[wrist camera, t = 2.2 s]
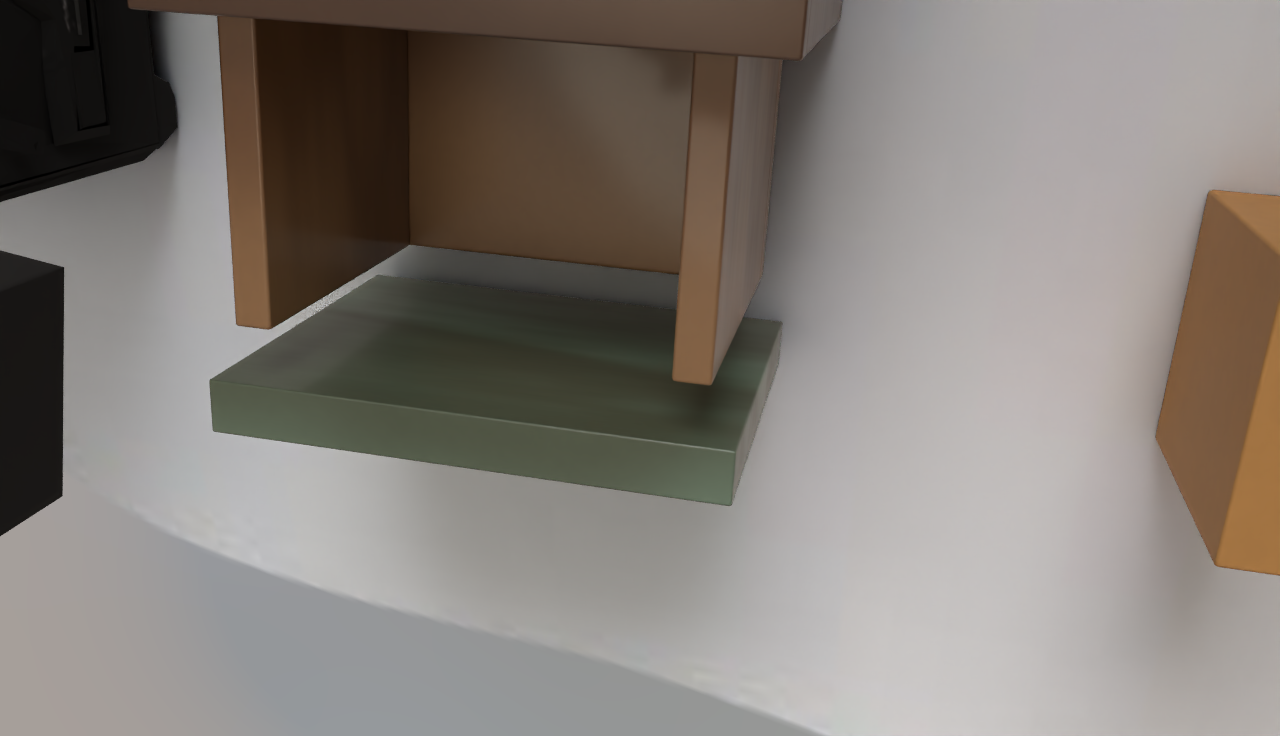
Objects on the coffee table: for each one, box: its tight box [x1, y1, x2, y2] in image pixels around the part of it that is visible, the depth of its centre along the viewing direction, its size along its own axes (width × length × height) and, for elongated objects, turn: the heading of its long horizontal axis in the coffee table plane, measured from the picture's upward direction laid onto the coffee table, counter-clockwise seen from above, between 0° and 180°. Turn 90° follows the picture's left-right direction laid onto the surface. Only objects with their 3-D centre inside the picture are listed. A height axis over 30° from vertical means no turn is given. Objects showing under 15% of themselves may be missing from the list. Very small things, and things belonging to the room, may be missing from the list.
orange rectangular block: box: [1156, 190, 1280, 576], centre depth 27 cm, size 2×6×7 cm, turn 177°
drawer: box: [210, 16, 783, 506], centre depth 27 cm, size 13×11×9 cm
